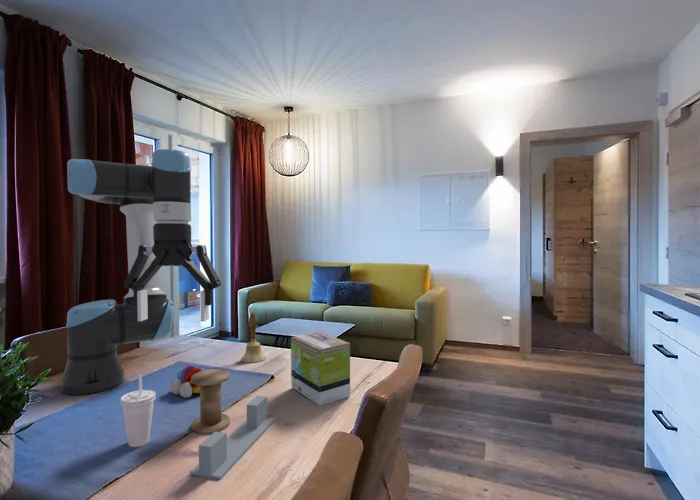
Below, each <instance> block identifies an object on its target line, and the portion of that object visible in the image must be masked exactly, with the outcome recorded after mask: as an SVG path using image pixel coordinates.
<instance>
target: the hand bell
mask: <svg viewBox="0 0 700 500" xmlns="http://www.w3.org/2000/svg"><path fill="white" fill-rule="evenodd" d="M248 327H249V330H250V341H249V342H248V343H247V344H246V349H245V353H244V354H243V355H242V357H241V358H240V361H241V362H243V363H247V364H254V363H255V364H256V363H260V362H263V361H265V360H266V358H267V357H266V355H265V354H264V353H263V352H262V349H261V343H260V342H258V341H257V338H256V337H257V336H256V330H257V317H256V314H255V312H250V315H249V318H248Z"/></svg>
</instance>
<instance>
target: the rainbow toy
mask: <svg viewBox="0 0 700 500" xmlns="http://www.w3.org/2000/svg"><path fill="white" fill-rule="evenodd" d="M200 371H203V370H202V368H201V367H197V366H194V365H192V364H188V365H186V366H185V367H184V368H181V369H179V371H178V372H177V375H176V378H175V379H174V380H172V382H171V383H170V385H169V390H170V392H171V393H172V395H173V394H174V395H180V396H181V397H182V398H185V399H188V398H191V396H192V395H193V394H200V385H195V384H193V383H192V382H191V376H192V375H193V374H195V373H197V372H200Z"/></svg>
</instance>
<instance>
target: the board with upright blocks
mask: <svg viewBox="0 0 700 500" xmlns="http://www.w3.org/2000/svg"><path fill="white" fill-rule="evenodd" d="M274 422H275V418H270V417H268V396H266V395H265V396H264V395H256V396H255V397H254V398H252V399H251V400H250V401H249V402H247V404H246V419H245V421H244V422H242V423H241V424H240V425H239V426H238V427H237V428H236V429H234V431H233V432H231V433H230V434H229V435H228V436H227V434H228V433H227V432H223V431H222V432H221V431H219V432H216V431H215V432H214V433H211V435H209V436H208V437H206V438H205V440H204V441H202V442H201V443H200V444H199V445H198V464H197V465H196V466H194V467H193V468H192V469H191V470H190V471H189V475H190V476H196V477H202V478H208V479H216V480H222V479H223V478H224V477H225V475H226V474H228V472H229V471H230V470H231V469H232V468H233V467H234V466H235V465H236V463H238V462H239V460H240V459H241V458H243V456H244V455H245V454H246V453H247V452H248V451H249V449H250V448H251V447H252V446H253V445H254V444H255V443H256V442H257V441H258V440H259V438H260V437H262V436H263V435H264V433H265V432H267V430H268V429H269V427H271V425H272V424H273V423H274Z"/></svg>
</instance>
